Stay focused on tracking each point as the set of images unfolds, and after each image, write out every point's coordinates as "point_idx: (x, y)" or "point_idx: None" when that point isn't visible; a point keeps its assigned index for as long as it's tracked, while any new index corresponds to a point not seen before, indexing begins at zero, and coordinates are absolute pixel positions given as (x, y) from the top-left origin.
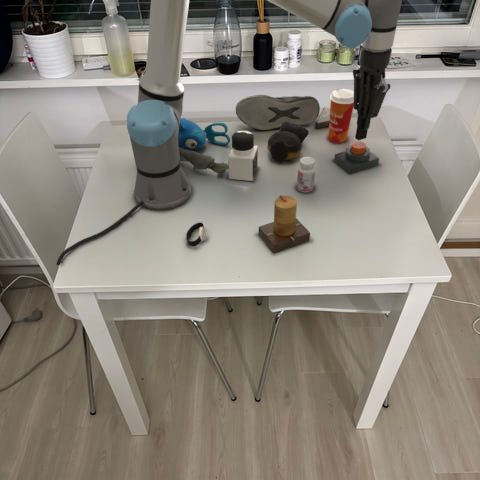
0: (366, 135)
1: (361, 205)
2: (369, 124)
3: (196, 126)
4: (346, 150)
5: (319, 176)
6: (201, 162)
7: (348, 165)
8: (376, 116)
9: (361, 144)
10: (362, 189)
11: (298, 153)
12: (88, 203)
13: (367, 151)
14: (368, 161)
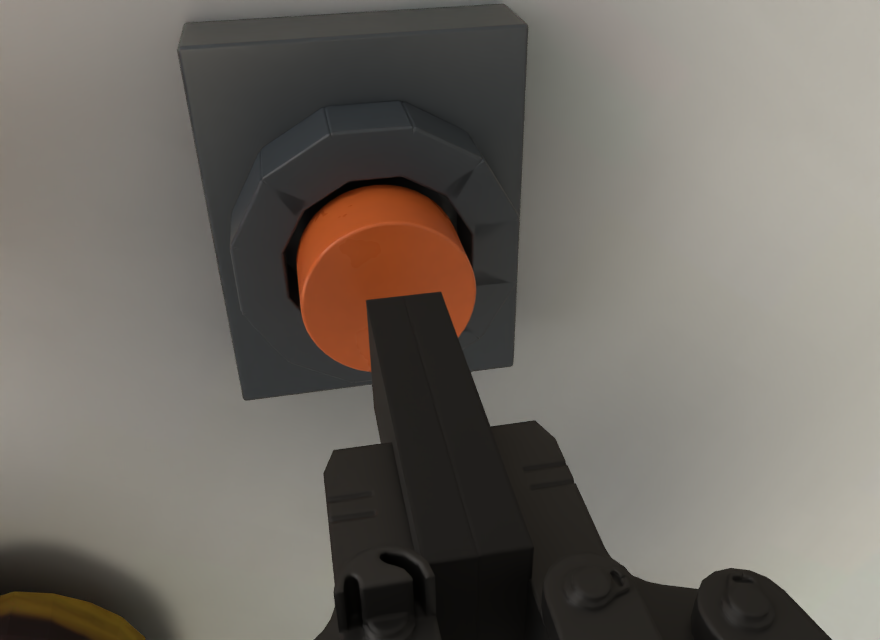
0: (447, 314)
1: (841, 412)
2: (568, 475)
3: None
4: (329, 373)
5: None
6: None
7: (476, 369)
8: (769, 592)
9: (391, 271)
10: (720, 331)
11: (112, 628)
12: None
13: (454, 184)
14: (520, 177)
